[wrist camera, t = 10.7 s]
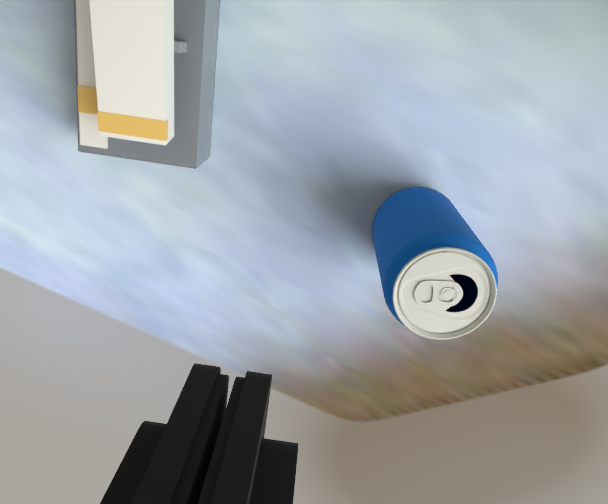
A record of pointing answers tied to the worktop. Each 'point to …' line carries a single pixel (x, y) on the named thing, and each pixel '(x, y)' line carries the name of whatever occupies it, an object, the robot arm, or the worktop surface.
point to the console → (187, 88)
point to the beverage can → (432, 265)
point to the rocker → (134, 68)
